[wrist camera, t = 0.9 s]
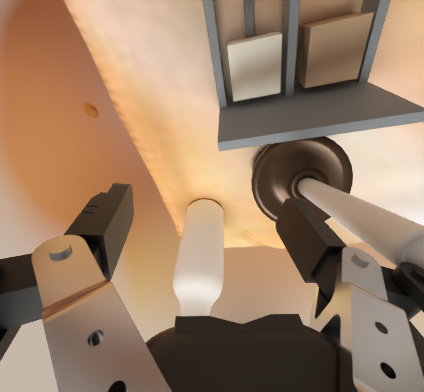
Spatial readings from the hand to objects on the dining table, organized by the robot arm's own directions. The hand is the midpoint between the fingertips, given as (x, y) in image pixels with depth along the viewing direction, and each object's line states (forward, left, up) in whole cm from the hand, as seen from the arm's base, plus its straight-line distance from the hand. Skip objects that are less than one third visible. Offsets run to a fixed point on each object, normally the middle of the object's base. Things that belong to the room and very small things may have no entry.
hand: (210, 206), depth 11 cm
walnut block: (-2, +14, -26) cm, 29 cm away
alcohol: (+26, -8, -26) cm, 38 cm away
